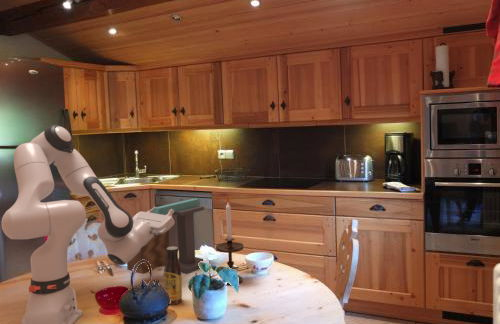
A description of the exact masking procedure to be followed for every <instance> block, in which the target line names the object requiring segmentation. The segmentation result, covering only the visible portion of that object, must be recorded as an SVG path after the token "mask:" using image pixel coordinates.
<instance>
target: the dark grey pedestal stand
mask: <svg viewBox="0 0 500 324" xmlns="http://www.w3.org/2000/svg"><path fill="white" fill-rule="evenodd" d="M202 211H205V206H201V205H200V206H196V207H192V208H188V209H184V210H180V211H176V212H174V213H173V214H172V216H176V222H177V224H176V225H177V243H178V246H177V247H178V261H179V263H180V264H181V273H182V274H187V275H189V274H191V273H193V272H195V271H199V270H201V269H200V268H199V266H198V263H199V262H200V261H203V259H204V258H201V257H197V256H196V247H195V246H196V245H195V244H196V243H195V225H194V224H195V223H194V222H195V221H194V213H198V212H202ZM165 266H166V263H165V265H164V267H165Z"/></svg>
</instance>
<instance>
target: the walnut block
mask: <svg viewBox="0 0 500 324" xmlns="http://www.w3.org/2000/svg"><path fill="white" fill-rule="evenodd" d="M169 231H170V229H169V230H168V231H166V232H165V233H163V234H159V235H156V234H154V237H153V238H152V239H151V240H150V241H149V242H148V243H147V244H146V245H145V246H143V247H142V248H141V249H140V251H139V253H138V254H137V255H136V256H135V257H134V258H133V259H132V260H130V261H129V262H128V263H126V265H127V270H128V269H130V270H129V271H132V269H133V267H134V265H135V264H136V263H137V262H138V261H140V260H142V259H145V260H147V261H149V263H150V264H151V268H152V270H155V269H157V268H161V267H163V266H164V267H165V263H166V262H167V248H168V247H170V233H169ZM152 270H151V271H152ZM147 272H150V271H149V269H148V266H147V264H146V263H142V264H140V265H139V266H138V268H137V270H136V273H140V274H145V273H147Z"/></svg>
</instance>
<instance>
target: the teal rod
mask: <svg viewBox="0 0 500 324" xmlns="http://www.w3.org/2000/svg"><path fill="white" fill-rule="evenodd" d="M196 206H201V200H200V198H191V199H186V200H180V201H178V202H173V203H167V204H165V205H159V206H154V207H155V208H154V207H153V208H154V213H155V214H162V215H166V214H168V213H169V212H168V210H169V209H173V210H174V212H176V211H180V210H184V209H188V208H192V207H196Z"/></svg>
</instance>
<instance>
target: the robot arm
mask: <svg viewBox="0 0 500 324" xmlns="http://www.w3.org/2000/svg"><path fill="white" fill-rule="evenodd" d="M13 152H14V153H13V167H14V173H15V176H16V182H17V186H18V187H17V189H18V195H17V198H16V201H15V202H14V203H13V204H12V206H11V207H9V209H7V210H6V211H5V213H4V214H3V216H2V218H1V221H0V223H1V230H2V232H3V233H4V235H5V236H6V237H7V238H8V239H10V240H30V239H37V238H41V237H42V238H43V237H45V236H48V238H47V240H46V242H45V241H44V243H43V244H41V245H40V246H39V247H38V248H36V249H35V250H34V251H33V252H32V254H31V255H30V270H31V278H30V283H29V286H28V292H29V293H28V295H29V296H28V299H27V304H26V307H25V313H24V315H23V317H22V320H21V323H20V324H74V323H75V322H76V321H77V320H78V319H79V318H80V317H81V316H82V315H83V314H84V313H83V310H82V309H79V308H78V302H77V295H76V290H75V289H74V288H73V287H72V286H71V284H70V283H71V275H70V273H69V271H68V270H69V269H68V250H69V246H70V244H71V241H72V239H73V238H74V236H75V235H76V233H77V232H78V231H79V230H80V229H81V228H82V227H83V226H84V224H85V222H86V219H87V211H86V208H85V206H84V205H83V204H82V203H81V202H80V201H79V200H73V199H61V200H54V201H47V202H41V201H43V200H44V199H46V198H47V197H49V196H50V195H51V193H52V192H54V191H53V190H54V189H55V181H54V177H53V174H52V170H51V167H50V165H52V163H53V165H54V166H55V167H56V169H57V171H58V173H59V175H60V178H61V179H62V181H63V183H64V184H65V185H66V187H67V189H68V190H69V191H70V192H71V193H73V195H75V196H79V197H82V196H86V197H88V198H90V199H91V200H92V201H93V202H94V204H95V205H96V207H97V208H98V209H99V211H100V212H101V214H102V215H103V218H104V219H103V221H102V222H101V224H100V225H99V226H98V228H97V236H98V238H99V239H100V240H101V242H102V243H103V245H104V247H105V249H106V253H107V258H108V260H110V261H111V262H112V263H114V264H116V265H120V266H121V265H122V266H124V265H127V263H128V262H129V261H130V260H132V259H133V258H134V257H135V256H136V255H137V254H138V253H139V251H140V249H141V248H142V247H143V246H145V245H146V244H147V243H148V242H149V241H150V240H151V239H152V238H153V237H154V234H156V235H159V234H163V233H165V232H166V231H168V230H169V231H170V229H171V228H172V227H173V226H175V223H176V222H175V220H174V218H173V215H172V214H173V213H174V210H173V209H169V210H168V212H169V213H168V214H164V215H162V214H155V213H154V208H155V207H156V206H154V207H153V208H151V209H150V210H147V211H139V212H137V213H136V214H135V215H134V216H132V215H131V213H129V212H128V211H127V210H126V209H124V208H123V207H121V206H120V204H118V202H117V201H116V199H115V198H114V197H113V196H112V195H111V193H110V191H109V190H108V189H107V187H106V186H105V185H104V184H103V183H102V181H101V180H100V179H99V178H98V176H96V174H95V173H94V170H93V169H92V168H91V167H90V165H89V163H88V162H87V160H86V159H85V158H84V157H83V156H82V155H81V152H79V151H78V150H77V149H75V146H74V141H73V136H72V133H70V131H69V130H68V129H67V128H65V127H64V126H62V125H58V124H52V125H50V126H48V127H47V128H45V129H44V131H42V132H40V134H38V135H37V136H35V137H34V138H33V139H31V141H30V142H25V143H21V144H19V145H18V146H17V147H16V148H15V149H14V151H13Z"/></svg>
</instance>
